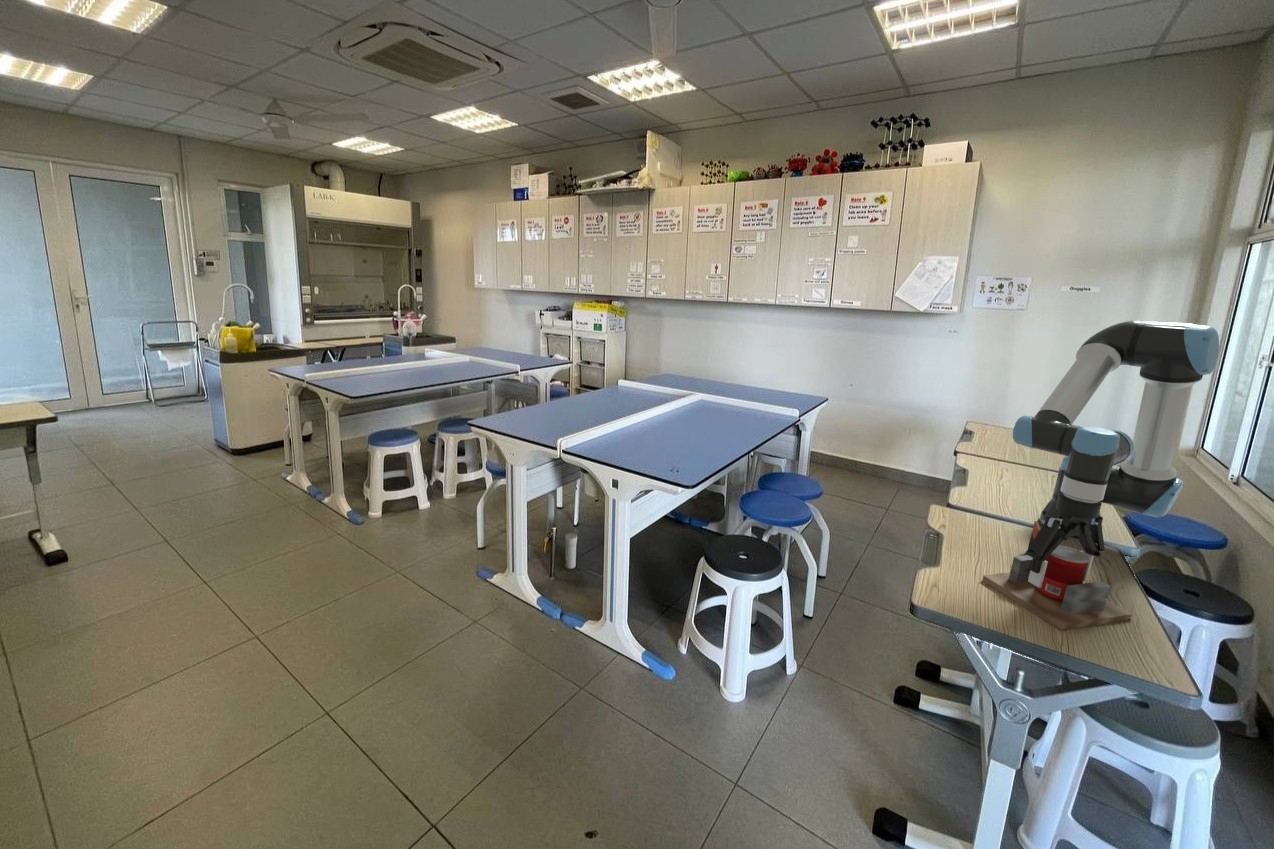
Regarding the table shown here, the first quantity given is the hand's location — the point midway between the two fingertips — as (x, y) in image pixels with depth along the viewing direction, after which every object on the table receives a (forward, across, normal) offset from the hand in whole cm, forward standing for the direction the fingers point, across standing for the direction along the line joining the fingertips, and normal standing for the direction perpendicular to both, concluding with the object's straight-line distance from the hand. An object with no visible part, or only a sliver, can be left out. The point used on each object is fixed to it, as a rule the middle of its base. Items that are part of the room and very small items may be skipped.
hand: (1057, 581), depth 125 cm
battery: (+5, -16, -17) cm, 24 cm away
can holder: (+5, 0, 0) cm, 5 cm away
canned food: (+3, 0, 0) cm, 3 cm away
